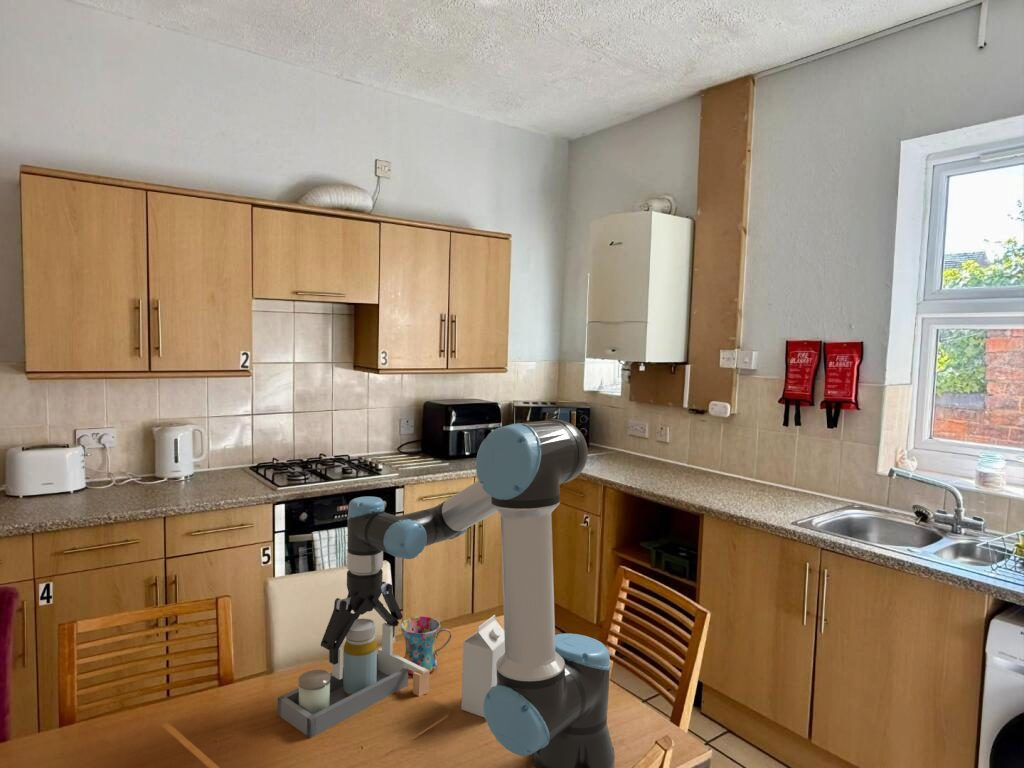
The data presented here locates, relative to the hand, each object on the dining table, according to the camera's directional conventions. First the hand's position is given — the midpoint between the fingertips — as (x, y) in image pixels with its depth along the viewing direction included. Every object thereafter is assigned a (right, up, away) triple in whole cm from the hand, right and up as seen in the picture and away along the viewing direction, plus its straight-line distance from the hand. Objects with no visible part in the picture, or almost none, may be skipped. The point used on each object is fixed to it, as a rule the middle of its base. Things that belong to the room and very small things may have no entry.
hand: (363, 664), depth 139 cm
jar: (-8, -6, -9) cm, 14 cm away
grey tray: (-3, -7, -3) cm, 8 cm away
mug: (+12, -7, +13) cm, 18 cm away
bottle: (-1, -6, 0) cm, 6 cm away
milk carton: (+26, -8, -3) cm, 28 cm away
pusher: (+7, -6, +5) cm, 11 cm away
